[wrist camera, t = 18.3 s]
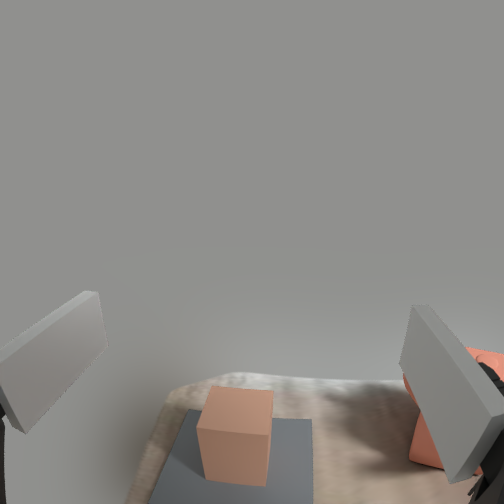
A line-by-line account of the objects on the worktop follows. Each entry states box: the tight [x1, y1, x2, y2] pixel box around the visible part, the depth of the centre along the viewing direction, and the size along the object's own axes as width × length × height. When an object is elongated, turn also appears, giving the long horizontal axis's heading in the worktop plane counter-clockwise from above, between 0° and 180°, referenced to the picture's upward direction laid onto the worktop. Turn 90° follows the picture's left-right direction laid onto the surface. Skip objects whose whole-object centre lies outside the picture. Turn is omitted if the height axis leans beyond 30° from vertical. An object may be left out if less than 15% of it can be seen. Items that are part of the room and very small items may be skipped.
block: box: [196, 386, 273, 487], centre depth 31 cm, size 7×7×10 cm
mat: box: [148, 409, 313, 504], centre depth 32 cm, size 18×18×1 cm
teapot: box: [403, 347, 504, 474], centre depth 28 cm, size 20×22×14 cm
